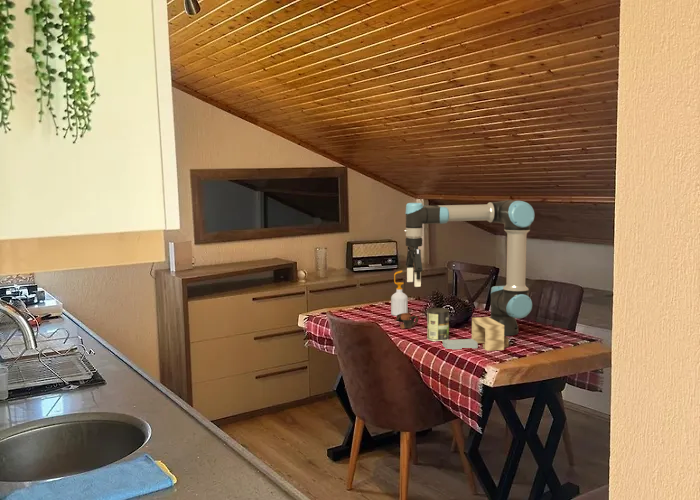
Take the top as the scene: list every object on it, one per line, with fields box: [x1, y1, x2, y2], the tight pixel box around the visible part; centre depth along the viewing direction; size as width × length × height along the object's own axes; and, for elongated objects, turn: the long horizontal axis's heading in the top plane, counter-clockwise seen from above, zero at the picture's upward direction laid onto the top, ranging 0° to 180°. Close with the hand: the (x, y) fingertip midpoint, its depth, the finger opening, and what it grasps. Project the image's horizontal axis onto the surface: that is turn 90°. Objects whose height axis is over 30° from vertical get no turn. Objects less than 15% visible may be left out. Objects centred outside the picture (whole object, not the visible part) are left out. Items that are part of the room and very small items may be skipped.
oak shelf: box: [471, 316, 510, 352], centre depth 304 cm, size 12×18×11 cm, turn 11°
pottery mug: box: [395, 312, 419, 330], centre depth 342 cm, size 12×10×8 cm
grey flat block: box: [442, 338, 479, 350], centre depth 302 cm, size 14×7×3 cm, turn 99°
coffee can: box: [426, 307, 450, 342], centre depth 316 cm, size 10×10×14 cm
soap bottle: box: [390, 270, 409, 317], centre depth 371 cm, size 9×9×25 cm
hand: (413, 284), depth 303 cm, fingers open, 13 cm apart
